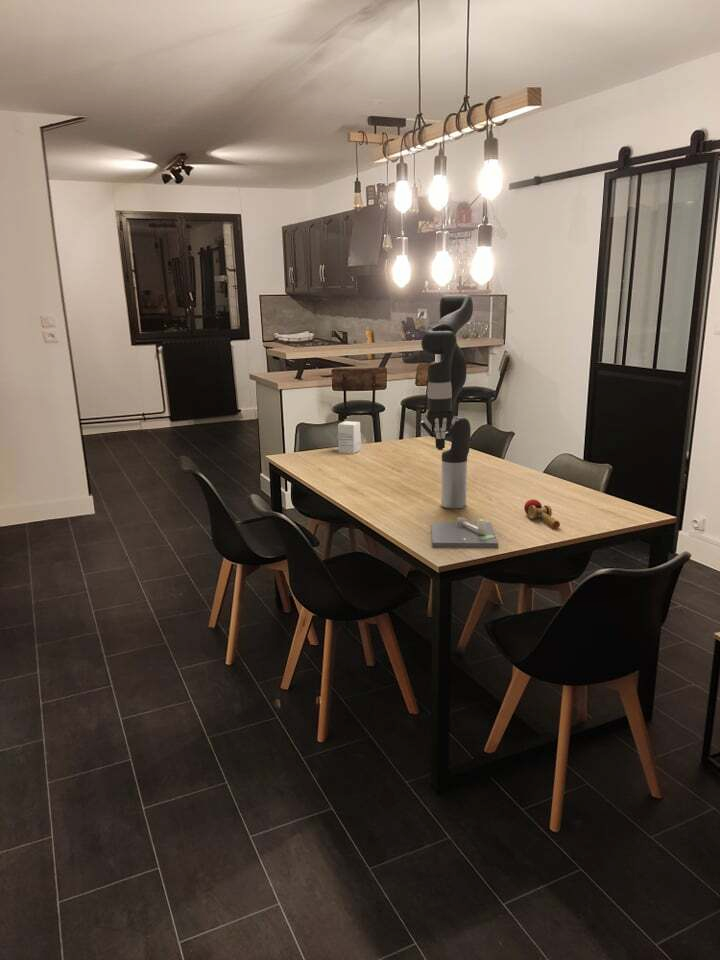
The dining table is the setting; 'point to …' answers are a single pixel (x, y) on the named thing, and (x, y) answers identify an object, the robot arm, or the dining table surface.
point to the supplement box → (349, 436)
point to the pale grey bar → (481, 525)
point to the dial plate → (462, 536)
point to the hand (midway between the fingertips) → (440, 449)
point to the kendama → (540, 512)
